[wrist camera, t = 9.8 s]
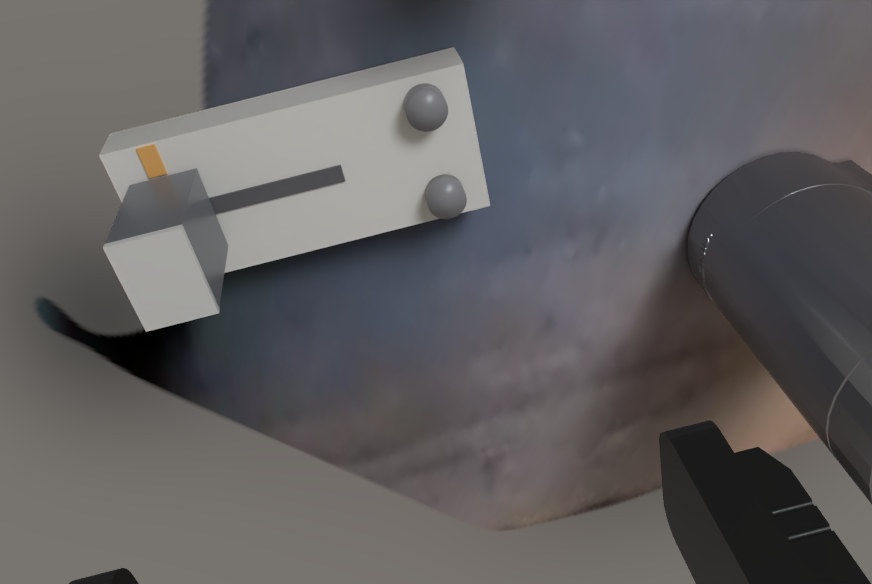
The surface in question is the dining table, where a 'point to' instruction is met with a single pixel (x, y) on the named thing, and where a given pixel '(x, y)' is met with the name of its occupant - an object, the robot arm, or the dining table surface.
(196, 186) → the fader tab
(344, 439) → the dining table surface
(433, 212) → the console
